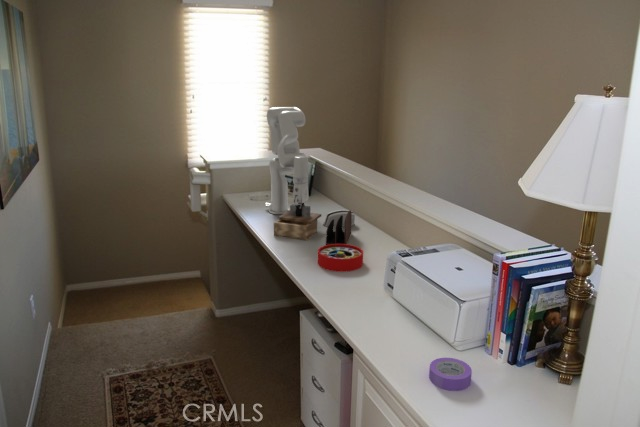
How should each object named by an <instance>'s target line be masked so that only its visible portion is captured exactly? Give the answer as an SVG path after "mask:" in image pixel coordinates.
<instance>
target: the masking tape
mask: <svg viewBox="0 0 640 427" xmlns="http://www.w3.org/2000/svg"><path fill="white" fill-rule="evenodd" d="M447 372H448V373H453V374H455V375H452V374H446V373H447ZM472 374H473V370H472V368H471V366H470V365H469V364H468V363H466V362H465V361H463V360H460V359H457V358H453V357H440V358H436V359H434V360H432V361H431V362H430V363H429V374H428V378H429V381H430V382H431V384H433V385H434V386H435V387H438V388H439V389H442V390H445V391H451V392H458V391H459V392H460V391H463V390H466V389H468V388H469V387H470V386H471V384H472Z"/></svg>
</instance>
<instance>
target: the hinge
mask: <svg viewBox="0 0 640 427" xmlns="http://www.w3.org/2000/svg"><path fill="white" fill-rule="evenodd" d="M350 210H351V209H336V210H332V211H330V212H327V213H326V217H325V218H324V221H323V223H322V224H323V226H324V227H325V228H327V227H328V225H329V224H330V222H331V221H332V219H334V227H336V223H337V221H338V219H339V217H340V216H341V215H343V222H342V227H345V218H346V216H347V213H348V212H349V211H350ZM355 218H356V215H355V213H354V211H352V210H351V226H353V225H355Z"/></svg>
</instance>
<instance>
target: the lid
mask: <svg viewBox="0 0 640 427" xmlns="http://www.w3.org/2000/svg"><path fill="white" fill-rule="evenodd" d="M298 205H299V204H298ZM299 206H300V205H299ZM289 207H290V208H289V209H290V210H289V211H287V212H286V213H284V214H280V215H279V216H278V220H279V219H281V220H289V221H297V222H305V223H313V222H314V221H315V220H317V221H318V219H320V218H321V217H322V213H318V212H317V213H316V212H311V206H310V205H305V206H303V205H301V209H302V216H296V206H294V203H293V204H291V205H290V206H289Z"/></svg>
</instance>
